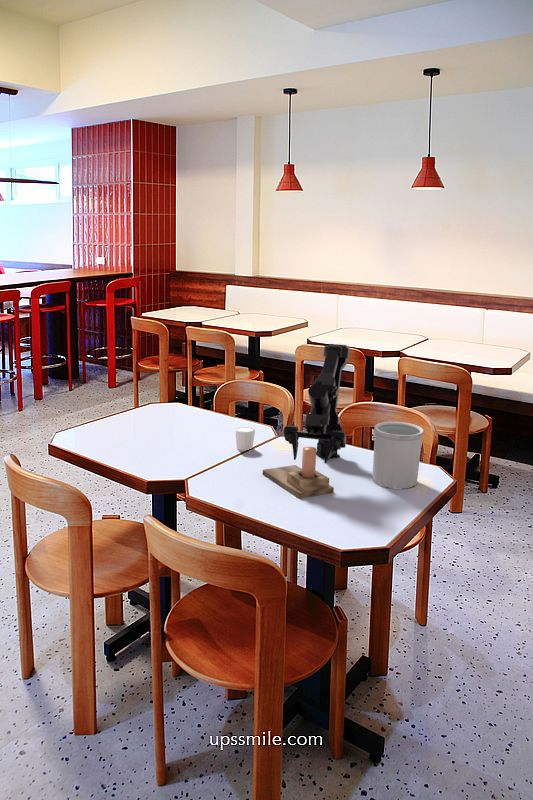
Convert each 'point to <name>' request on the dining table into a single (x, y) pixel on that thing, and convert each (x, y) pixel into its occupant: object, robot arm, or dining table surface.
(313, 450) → the plug
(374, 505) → the dining table surface
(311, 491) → the wooden socket base
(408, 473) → the utensil holder
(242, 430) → the white cup
